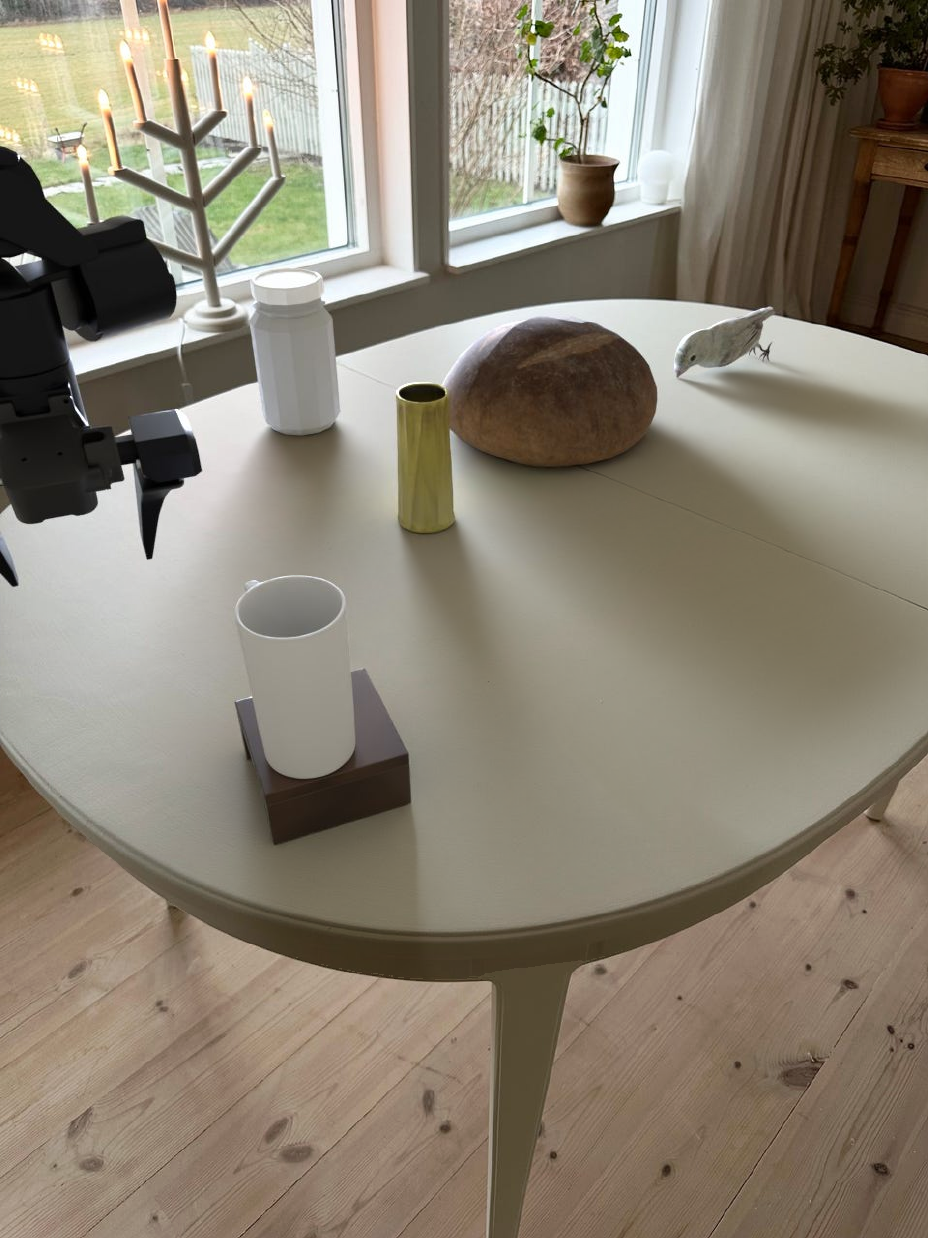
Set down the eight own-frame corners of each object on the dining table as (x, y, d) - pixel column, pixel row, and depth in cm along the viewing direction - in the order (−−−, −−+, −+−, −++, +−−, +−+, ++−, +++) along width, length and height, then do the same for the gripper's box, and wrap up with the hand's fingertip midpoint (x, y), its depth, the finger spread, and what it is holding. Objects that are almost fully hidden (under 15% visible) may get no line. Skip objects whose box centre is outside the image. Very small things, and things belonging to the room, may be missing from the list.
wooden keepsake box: (274, 845, 63) (264, 795, 60) (244, 749, 70) (234, 700, 67) (411, 803, 66) (409, 753, 63) (369, 715, 73) (365, 667, 70)
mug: (378, 753, 63) (367, 611, 56) (292, 799, 60) (268, 654, 53) (303, 678, 69) (284, 542, 62) (222, 716, 66) (192, 577, 59)
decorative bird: (662, 371, 131) (670, 319, 127) (749, 352, 137) (758, 301, 133) (687, 384, 127) (695, 331, 123) (774, 364, 134) (785, 312, 129)
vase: (418, 540, 95) (413, 410, 86) (386, 516, 99) (379, 389, 90) (466, 522, 98) (466, 394, 89) (433, 499, 102) (430, 375, 93)
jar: (250, 418, 119) (229, 275, 108) (317, 400, 123) (303, 260, 113) (286, 445, 112) (267, 296, 102) (355, 425, 117) (344, 280, 106)
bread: (399, 418, 118) (394, 316, 111) (554, 370, 131) (560, 276, 124) (531, 497, 102) (537, 383, 94) (694, 433, 115) (711, 329, 107)
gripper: (-163, 439, 49) (-63, 667, 58) (194, 386, 54) (234, 601, 64) (-141, 366, 57) (-56, 575, 66) (167, 326, 63) (206, 524, 72)
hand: (83, 570), depth 67 cm, fingers open, 9 cm apart
